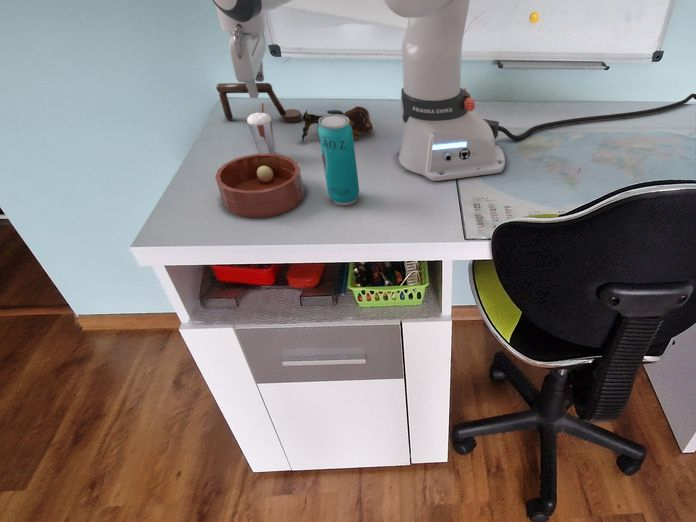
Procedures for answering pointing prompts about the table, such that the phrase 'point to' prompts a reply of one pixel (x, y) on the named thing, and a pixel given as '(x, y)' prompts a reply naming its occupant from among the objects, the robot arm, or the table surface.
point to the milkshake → (262, 132)
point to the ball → (265, 173)
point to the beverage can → (339, 158)
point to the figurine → (357, 116)
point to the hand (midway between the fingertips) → (257, 88)
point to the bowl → (260, 185)
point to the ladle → (224, 88)
